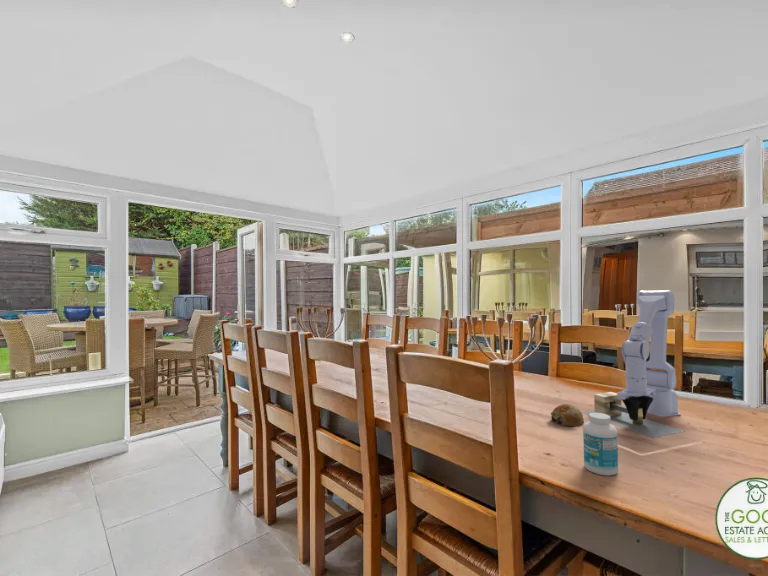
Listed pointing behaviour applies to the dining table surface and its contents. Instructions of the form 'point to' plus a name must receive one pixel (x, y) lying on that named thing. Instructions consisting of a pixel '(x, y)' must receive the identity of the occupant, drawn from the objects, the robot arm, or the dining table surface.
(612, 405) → the hook rod
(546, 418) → the dining table surface
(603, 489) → the dining table surface
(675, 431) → the base board
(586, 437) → the pill bottle
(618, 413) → the eye block
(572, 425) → the bread roll
